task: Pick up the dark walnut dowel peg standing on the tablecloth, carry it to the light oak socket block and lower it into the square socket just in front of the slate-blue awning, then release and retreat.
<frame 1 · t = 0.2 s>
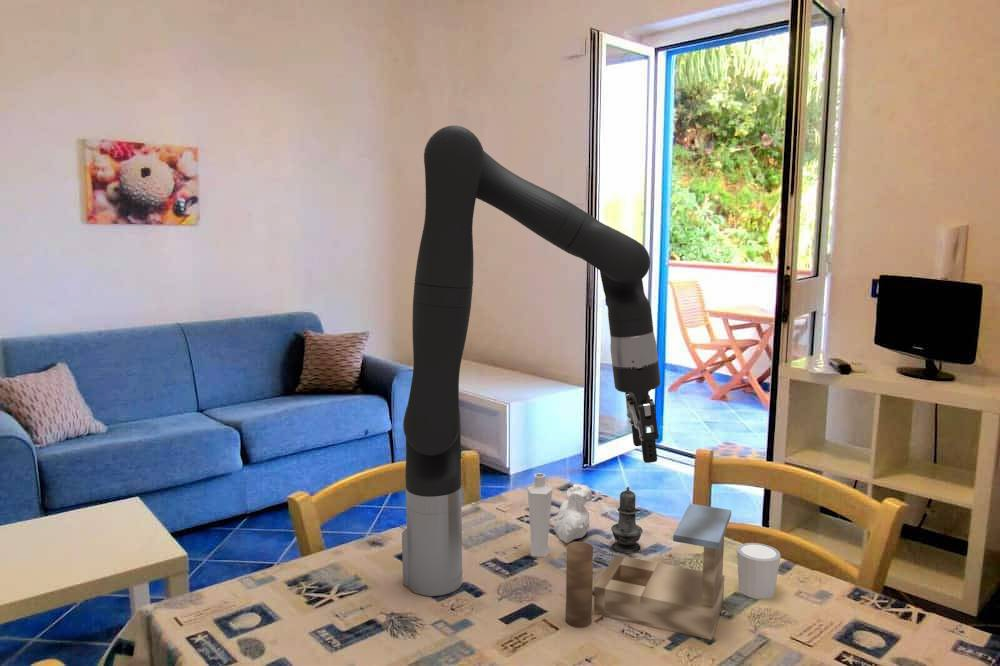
hand: (645, 453, 124), 22 cm above the table, tool pointing down, fingers open, 8 cm apart
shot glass: (756, 591, 123), on the table
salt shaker: (626, 548, 139), on the table
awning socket: (659, 607, 117), on the table
perfume bottle: (539, 553, 136), on the table
peg: (578, 620, 114), on the table
bust: (572, 536, 144), on the table
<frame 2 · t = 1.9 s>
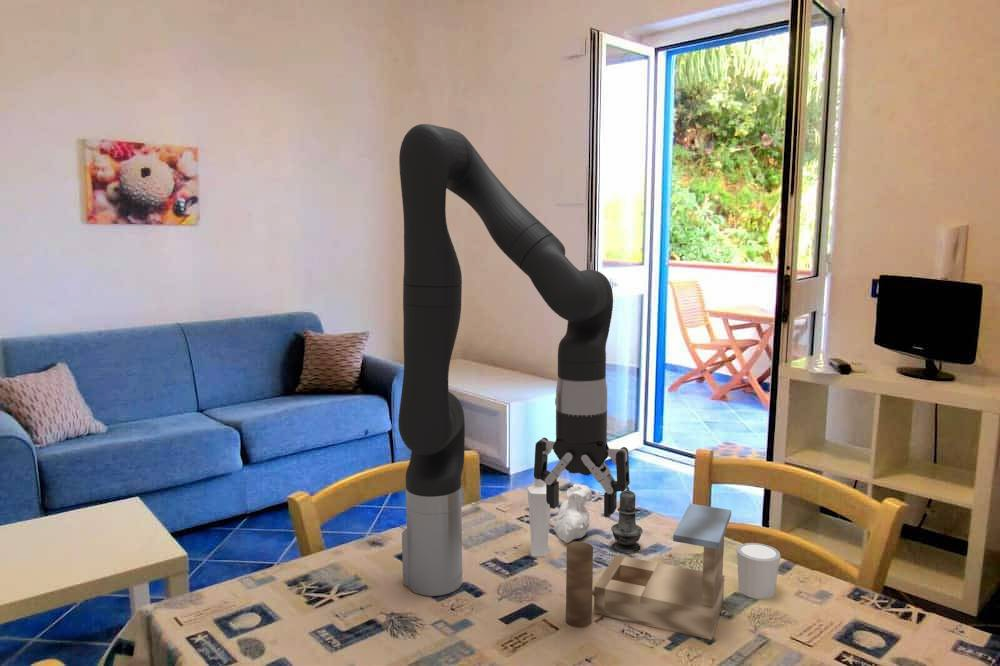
hand: (580, 510, 111), 18 cm above the table, tool pointing down, fingers open, 8 cm apart
nothing on the table moved.
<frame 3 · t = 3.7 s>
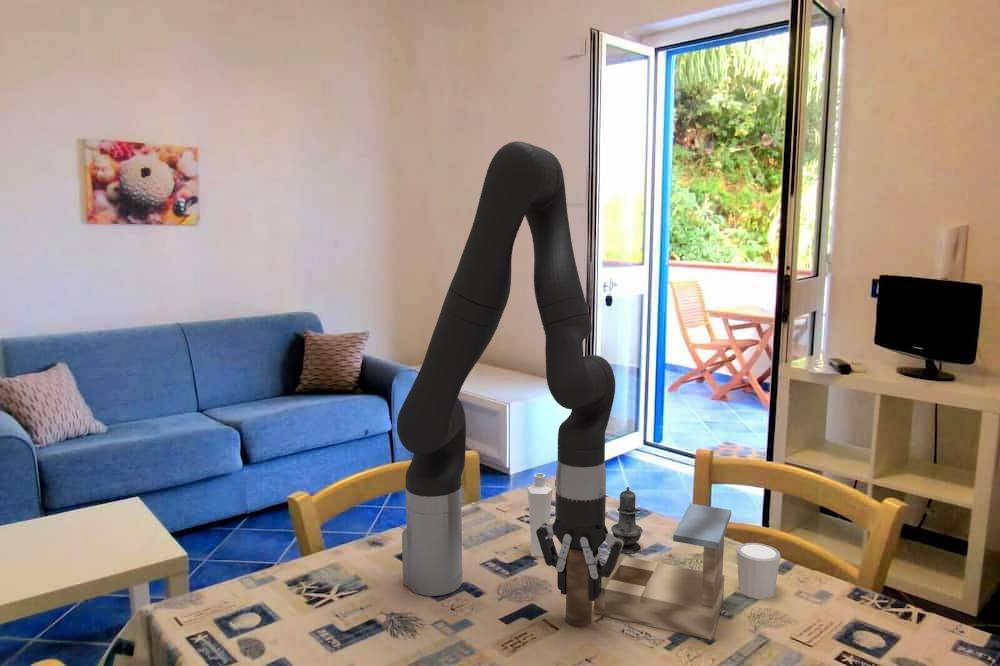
hand: (579, 594, 113), 4 cm above the table, tool pointing down, fingers closed on peg, 4 cm apart
peg: (578, 620, 114), on the table, touching gripper
everything else where it was.
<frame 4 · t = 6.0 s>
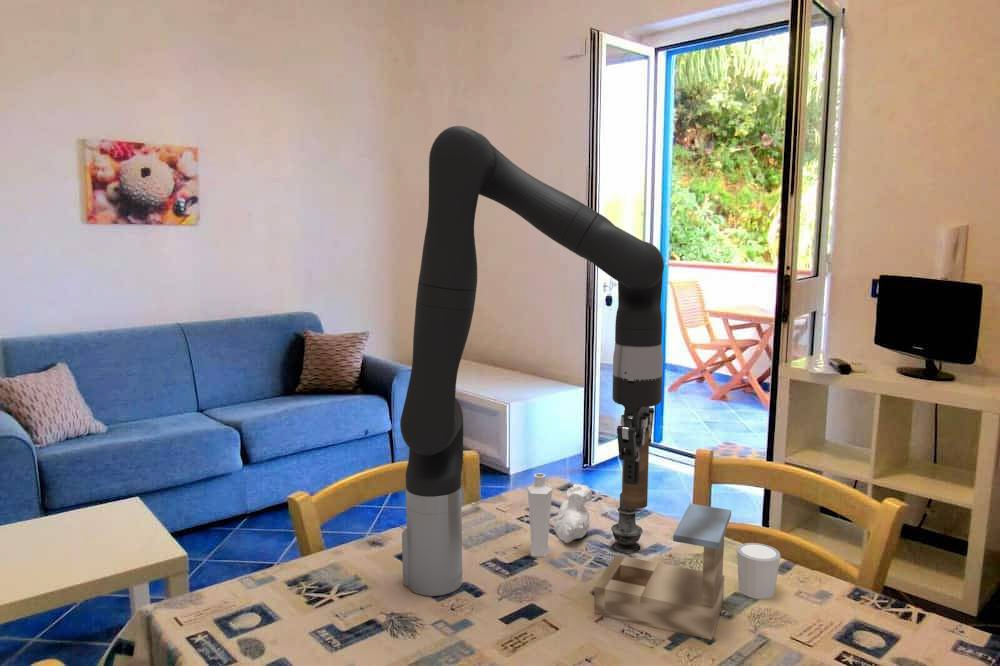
hand: (635, 478, 116), 21 cm above the table, tool pointing down, fingers closed on peg, 4 cm apart
peg: (634, 503, 117), point 17 cm above the table, touching gripper
everything else where it was.
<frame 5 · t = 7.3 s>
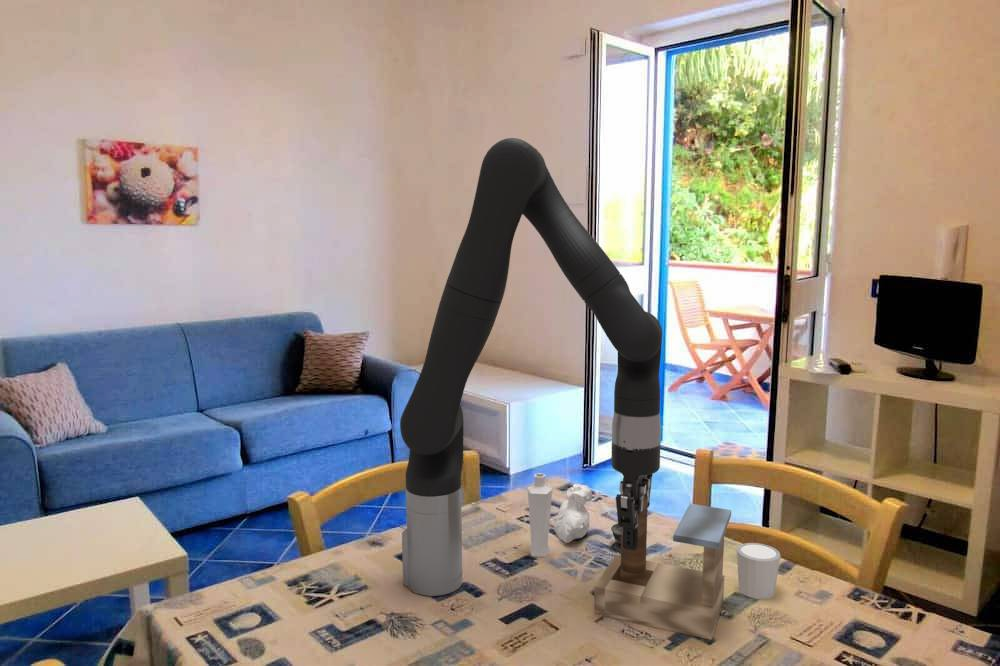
hand: (633, 542, 118), 10 cm above the table, tool pointing down, fingers closed on peg, 4 cm apart
peg: (633, 567, 118), point 6 cm above the table, touching gripper
everything else where it was.
when the fingers open (6 cm above the table, at t = 8.5 s): peg stays where it is, resting on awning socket.
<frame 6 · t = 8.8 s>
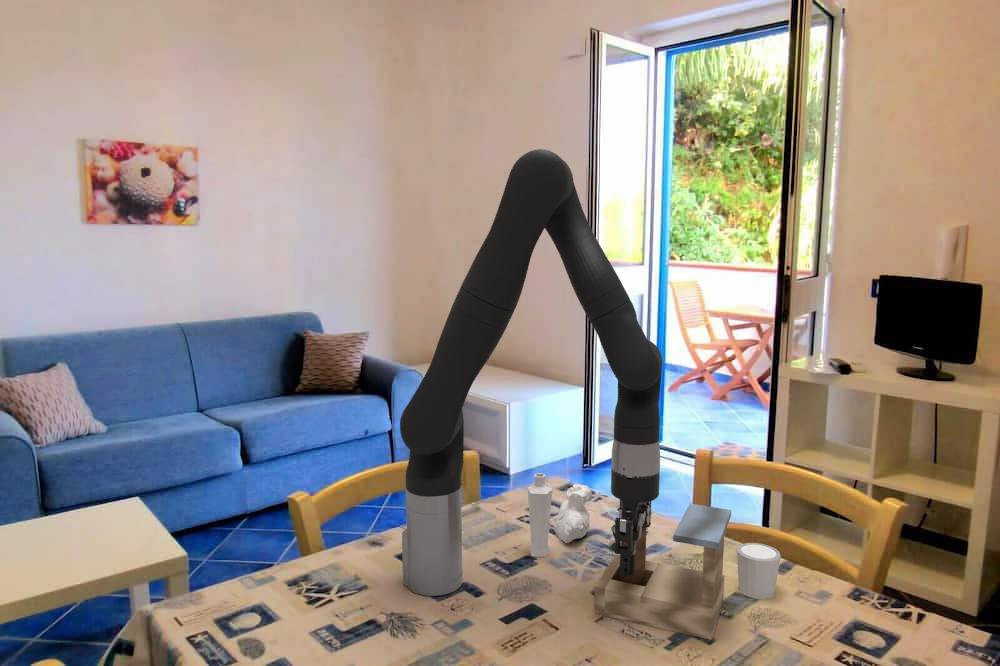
hand: (632, 565, 118), 6 cm above the table, tool pointing down, fingers open, 6 cm apart
peg: (631, 598, 119), point 1 cm above the table, touching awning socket
everything else where it was.
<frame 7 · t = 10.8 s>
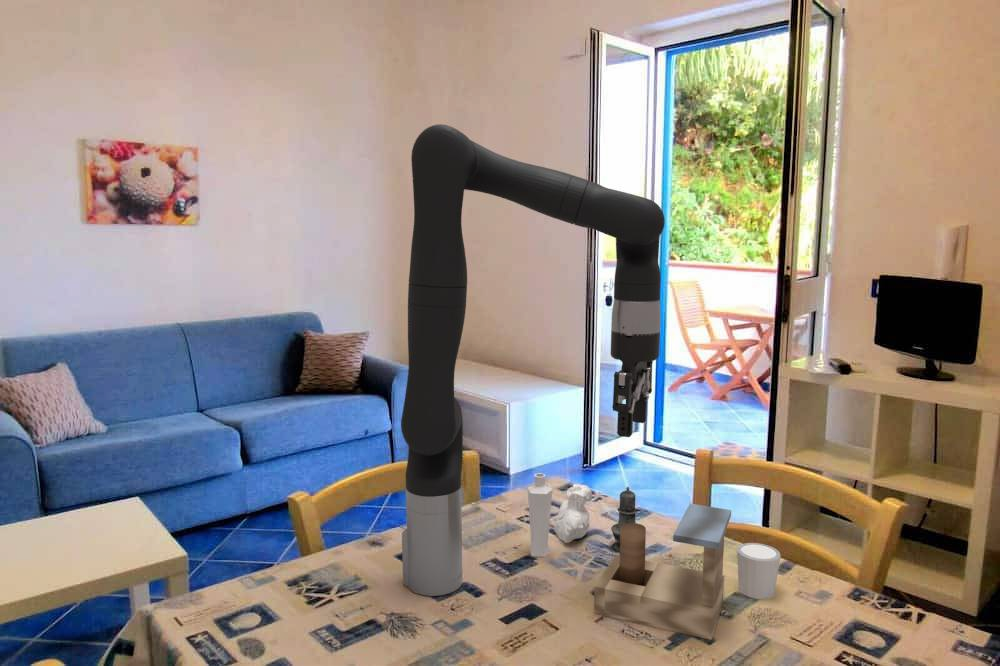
hand: (632, 428, 117), 28 cm above the table, tool pointing down, fingers open, 8 cm apart
nothing on the table moved.
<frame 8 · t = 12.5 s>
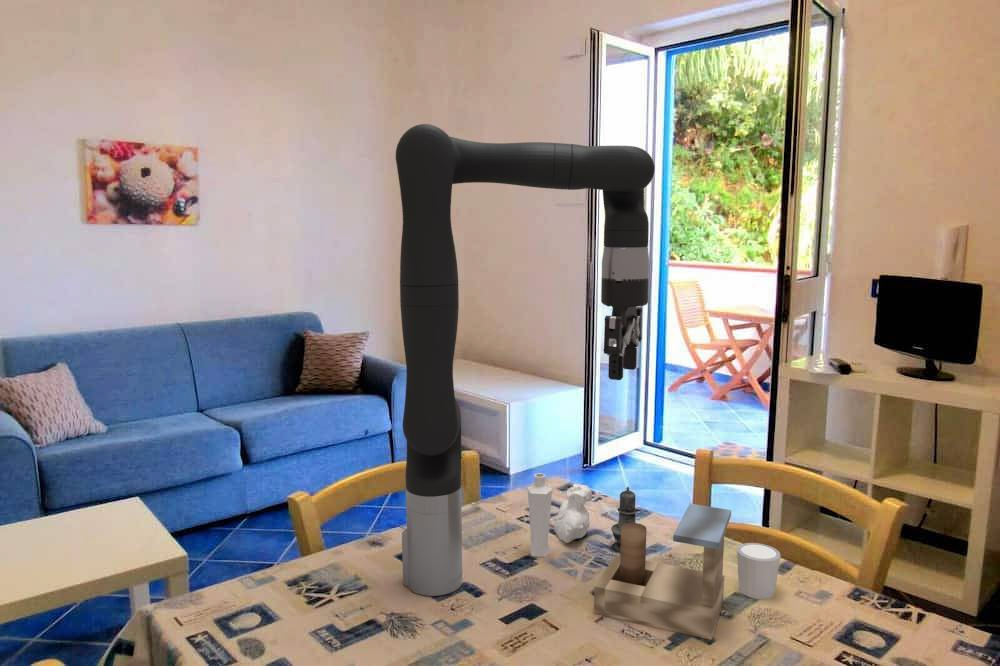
hand: (622, 374, 121), 36 cm above the table, tool pointing down, fingers open, 8 cm apart
nothing on the table moved.
at the end: peg 0.0 cm from the target spot on the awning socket, point 0.5 cm above the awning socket's base; peg tilted 1°; the gripper is holding nothing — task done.
